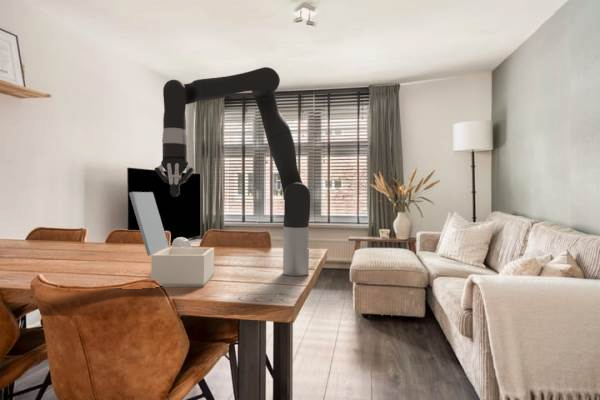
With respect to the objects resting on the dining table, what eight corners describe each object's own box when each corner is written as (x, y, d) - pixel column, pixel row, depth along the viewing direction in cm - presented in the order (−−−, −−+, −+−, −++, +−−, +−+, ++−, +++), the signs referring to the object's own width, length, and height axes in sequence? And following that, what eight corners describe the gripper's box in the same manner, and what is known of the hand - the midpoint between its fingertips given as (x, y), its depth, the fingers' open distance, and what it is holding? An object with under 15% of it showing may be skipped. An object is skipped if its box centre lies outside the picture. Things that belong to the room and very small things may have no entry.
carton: (214, 275, 126) (214, 247, 126) (203, 287, 110) (204, 255, 110) (168, 275, 125) (168, 247, 125) (151, 287, 109) (151, 255, 109)
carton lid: (152, 192, 125) (149, 193, 125) (132, 191, 108) (128, 192, 108) (168, 246, 126) (166, 247, 126) (150, 254, 109) (147, 255, 109)
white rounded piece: (170, 268, 137) (171, 236, 137) (181, 267, 140) (182, 235, 140) (180, 273, 129) (181, 239, 129) (192, 271, 132) (192, 238, 132)
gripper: (197, 145, 121) (197, 196, 121) (158, 144, 120) (158, 196, 121) (192, 142, 114) (192, 196, 114) (150, 141, 113) (150, 196, 113)
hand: (174, 196), depth 117 cm, fingers closed
